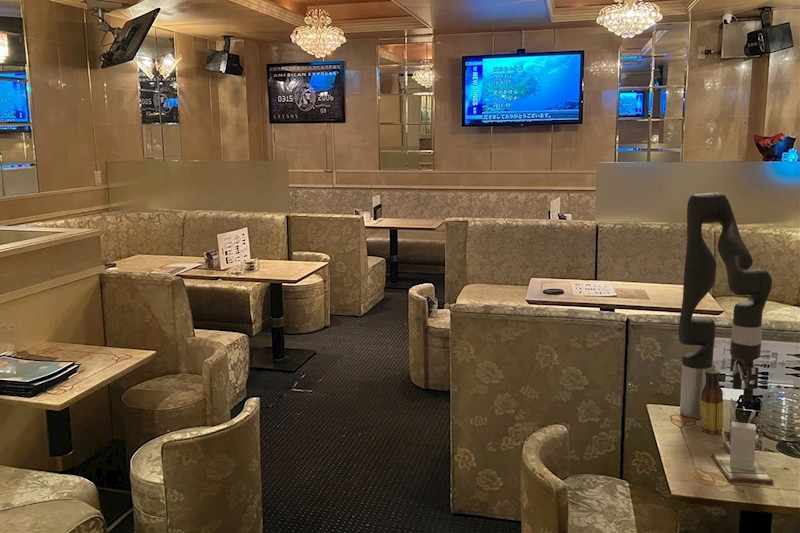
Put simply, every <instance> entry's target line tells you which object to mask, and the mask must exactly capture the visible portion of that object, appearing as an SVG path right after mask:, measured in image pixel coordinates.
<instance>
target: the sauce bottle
mask: <svg viewBox="0 0 800 533" xmlns="http://www.w3.org/2000/svg"><path fill="white" fill-rule="evenodd" d="M705 375H706V384H705V387H704V389H703V391H702V396H701V419H700V426H701V430H702V432H704V433H706V434H710V435H719V434H722V433H723V427H724V392H723V390H722V387H721V386H720V375H721V373H720V370H718V369H713V368H712V369H708V370H706V372H705Z"/></svg>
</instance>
